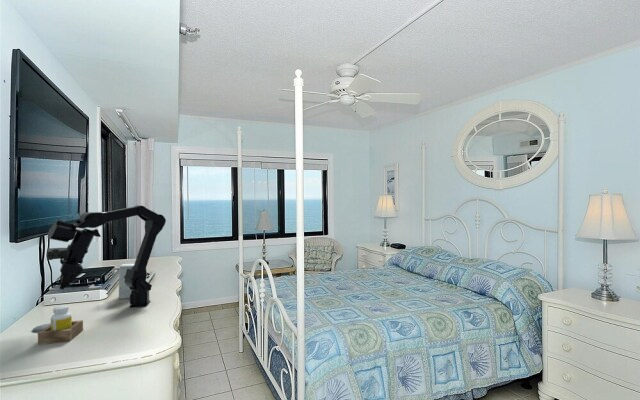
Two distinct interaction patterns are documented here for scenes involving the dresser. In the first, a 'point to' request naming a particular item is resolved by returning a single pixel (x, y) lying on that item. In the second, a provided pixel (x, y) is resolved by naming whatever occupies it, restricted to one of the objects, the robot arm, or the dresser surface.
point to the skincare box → (123, 288)
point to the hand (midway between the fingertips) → (61, 284)
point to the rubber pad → (40, 327)
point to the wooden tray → (60, 333)
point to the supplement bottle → (61, 318)
